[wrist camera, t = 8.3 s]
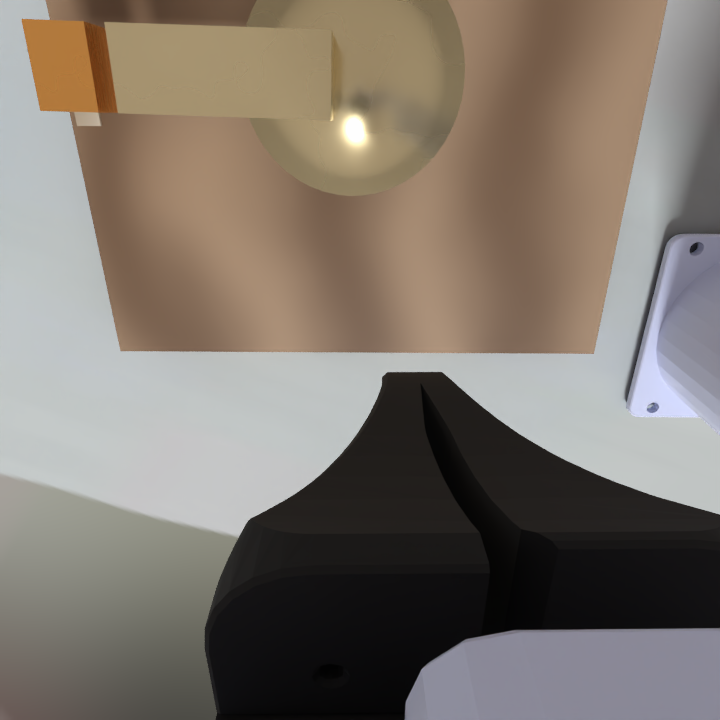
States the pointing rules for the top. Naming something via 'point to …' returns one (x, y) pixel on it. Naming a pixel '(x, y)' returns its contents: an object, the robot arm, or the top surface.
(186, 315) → the board
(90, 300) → the top surface
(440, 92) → the lever handle
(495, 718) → the robot arm
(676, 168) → the top surface
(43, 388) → the top surface
